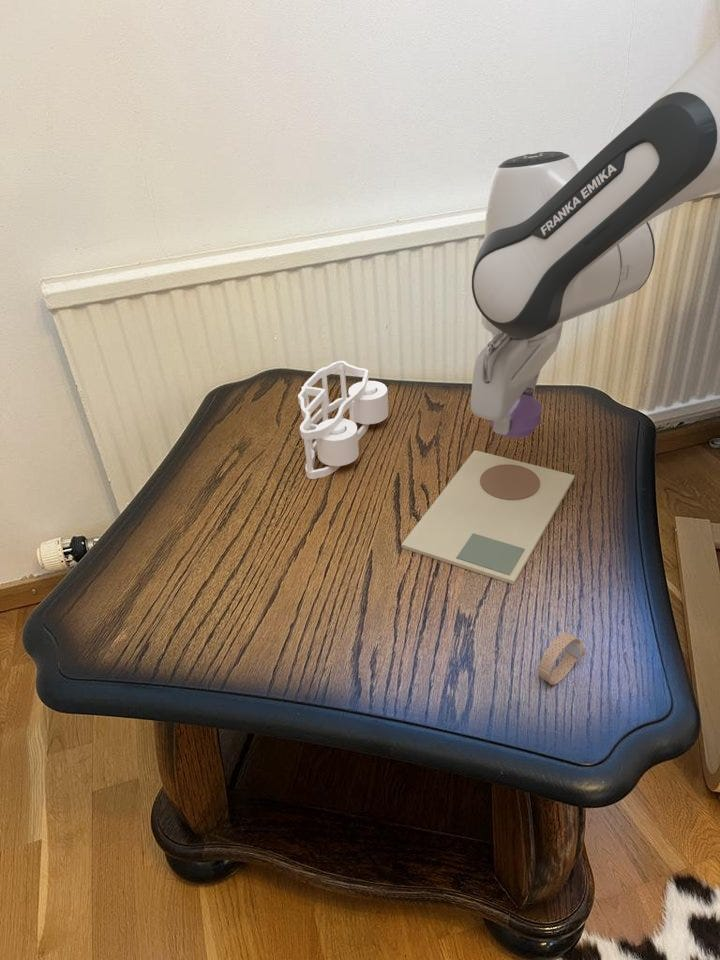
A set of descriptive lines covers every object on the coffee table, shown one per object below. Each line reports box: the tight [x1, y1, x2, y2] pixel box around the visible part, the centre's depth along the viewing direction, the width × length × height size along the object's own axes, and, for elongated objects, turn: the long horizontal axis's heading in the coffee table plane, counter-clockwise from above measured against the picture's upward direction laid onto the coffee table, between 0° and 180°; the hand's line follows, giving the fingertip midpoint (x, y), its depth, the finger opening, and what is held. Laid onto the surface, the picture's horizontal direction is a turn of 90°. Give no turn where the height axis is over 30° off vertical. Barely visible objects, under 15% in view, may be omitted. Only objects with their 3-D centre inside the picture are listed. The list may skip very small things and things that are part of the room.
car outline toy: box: [297, 360, 389, 480], centre depth 107 cm, size 20×11×7 cm, turn 157°
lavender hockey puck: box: [487, 394, 543, 439], centre depth 92 cm, size 6×6×3 cm
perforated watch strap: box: [537, 631, 586, 686], centre depth 72 cm, size 3×5×5 cm, turn 132°
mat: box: [400, 449, 576, 585], centre depth 94 cm, size 14×22×1 cm, turn 150°
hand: (514, 415), depth 92 cm, fingers closed on lavender hockey puck, 6 cm apart
